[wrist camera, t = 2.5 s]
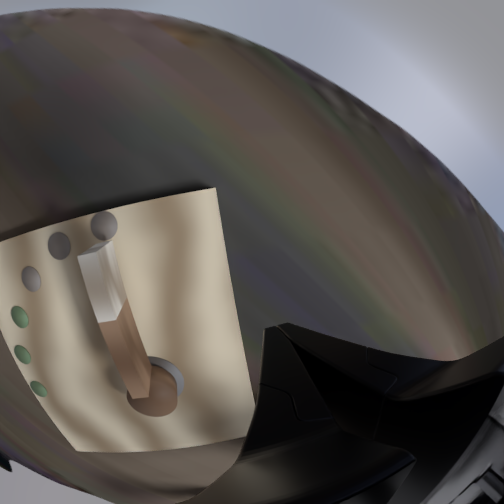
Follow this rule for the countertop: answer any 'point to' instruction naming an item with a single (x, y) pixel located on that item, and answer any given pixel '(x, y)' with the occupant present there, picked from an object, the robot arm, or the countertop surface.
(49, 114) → the countertop surface
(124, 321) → the peg
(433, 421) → the robot arm
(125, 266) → the board
